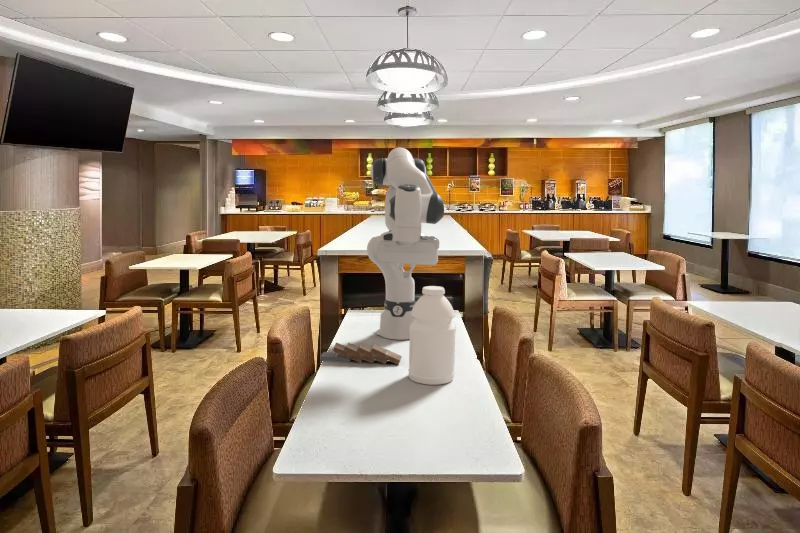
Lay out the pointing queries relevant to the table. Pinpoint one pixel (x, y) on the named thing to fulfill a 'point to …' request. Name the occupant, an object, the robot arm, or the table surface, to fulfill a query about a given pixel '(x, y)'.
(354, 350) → the domino
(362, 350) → the domino
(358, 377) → the table surface
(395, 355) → the domino
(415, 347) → the bottle
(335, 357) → the end domino
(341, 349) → the domino
